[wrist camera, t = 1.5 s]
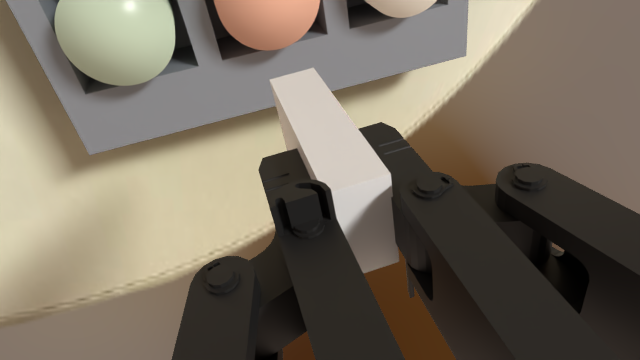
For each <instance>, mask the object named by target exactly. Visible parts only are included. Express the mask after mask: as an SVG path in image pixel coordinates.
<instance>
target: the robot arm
mask: <svg viewBox="0 0 640 360" xmlns="http://www.w3.org/2000/svg"><path fill="white" fill-rule="evenodd" d="M270 84H271V88H272V92H273V96H274V100H275V104H276V108H277V112H278V116H279V120H280V124H281V128H282V132H283V136H284V140H285V144H286V148H287V151H285V152H282V153H278V154H275V155H272V156H268V157H265V158H263V159H262V162H261V164H260V167H259V173H260V176H261V180H262V183H263V187H264V190H265V193H266V197H267V200H268V203H269V207H270V211H271V214H272V217H273V220H274V224H275V229H276V232H275V236H274V239H273V241H272V242H271V244H270V245H269V246H268V247H267V248H266V249H265V250H264V251H263V252H262V253H260V254H259V255H257V256H256V257H254V258H252V259H251V260H249V261H248V260H247V259H244V258H241V257H239V256H226V257H222V258H219V259H215V260H213V261H212V262H210V263H208V264H206V265H205V266H203V267H202V268H201V269H200V270H199V271H198V272H197V273H196V274H195V276H194V278H193V281H192V282H191V285H190V288H189V292H188V297H187V300H186V304H185V308H184V313H183V316H182V321H181V324H180V329H179V332H178V336H177V340H176V344H175V348H174V352H173V356H172V360H283V350H282V348H283V347H285V346H286V345H288V344H289V343H290V342H292V341H293V340H295V339H296V338H298V337H299V336H300V335H302V334H303V333H305V332H306V331H307V332H308V336H309V339H310V342H311V345H312V349H313V352H314V355H315V359H316V360H405V358H404V356H403V354H402V352H401V350H400V348H399V346H398V344H397V342H396V340H395V338H394V336H393V334H392V332H391V330H390V328H389V325H388V323H387V321H386V319H385V317H384V315H383V313H382V311H381V309H380V307H379V305H378V303H377V301H376V299H375V297H374V295H373V292H372V290H371V288H370V287H369V284H368V282H367V280H366V279H365V276H364V274H363V273H366V272H369V271H372V270H375V269H378V268H381V267H384V266H387V265H390V264H393V263H396V262H399V255H398V247H399V249H400V251H401V252H402V254H403V256H404V257H405V259H406V271H407V283H408V292H409V296H410V298H412V297H414V287H415V289H416V291H417V293H418V294H419V296H420V298H421V299H422V301H423V303H424V304H425V306H426V308H427V310H428V312H429V313H430V315H431V317H432V318H433V320H434V322H435V324H436V325H437V327H438V329H439V330H440V332H441V334H442V336H443V337H444V339H445V341H446V342H447V344H448V346H449V347H450V349H451V351H452V353H453V354H454V356H455V358H456V360H640V214H638V213H636V212H634V211H632V210H630V209H628V208H626V207H624V206H622V205H620V204H619V203H617V202H615V201H613V200H611V199H609V198H606V197H605V196H603V195H601V194H599V193H597V192H595V191H593V190H591V189H589V188H587V187H586V186H584V185H582V184H580V183H578V182H576V181H574V180H572V179H570V178H568V177H566V176H564V175H562V174H560V173H558V172H556V171H554V170H553V169H551V168H548V167H545V166H542V165H540V164H532V163H518V164H513V165H510V166H507V167H505V168H503V169H502V170H501V171H500V172H499V173H498V175H497V178H496V184H488V185H476V186H462V185H460V184H459V183H458V182H457V181H456V180H455V179H454V178H452V177H451V176H449V175H446V174H443V173H440V172H432V170H431V169H430V168H429V167H428V166H427V164H426V163H425V162H424V161H423V160H422V159H421V157H420V156H419V155H418V154H417V153H416V152H415V151H414V149H413V148H412V147H410V145H409V144H408V143H407V141H406V140H404V139H403V137H402V136H401V134H400V133H399V132H398V131H397V130H396V129H395V128H393V127H391V126H389V125H386V124H384V123H382V122H380V123H377V124H373V125H370V126H367V127H363V128H360V129H358V128H357V127H356V125H355V124H354V122H353V121H352V120H351V118H350V117H349V116H348V114H347V113H346V111H345V110H344V109H343V107H342V106H341V105H340V103H339V102H338V100H337V99H336V98H335V96H334V95H333V94H332V92H331V91H330V89H329V88H328V87H327V85H326V84H325V83H324V81H323V80H322V78H321V77H320V76H319V74H318V73H317V72H316V70H315V69H314V68H310V69H307V70H303V71H299V72H296V73H292V74H288V75H284V76H281V77H277V78H273V79H270ZM552 242H553V243H554V244H556V245H558V246H559V247H561V248H562V249H564V250H565V251H564V252H561V251H559V250H557V249H555V248H553V247H552Z"/></svg>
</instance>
